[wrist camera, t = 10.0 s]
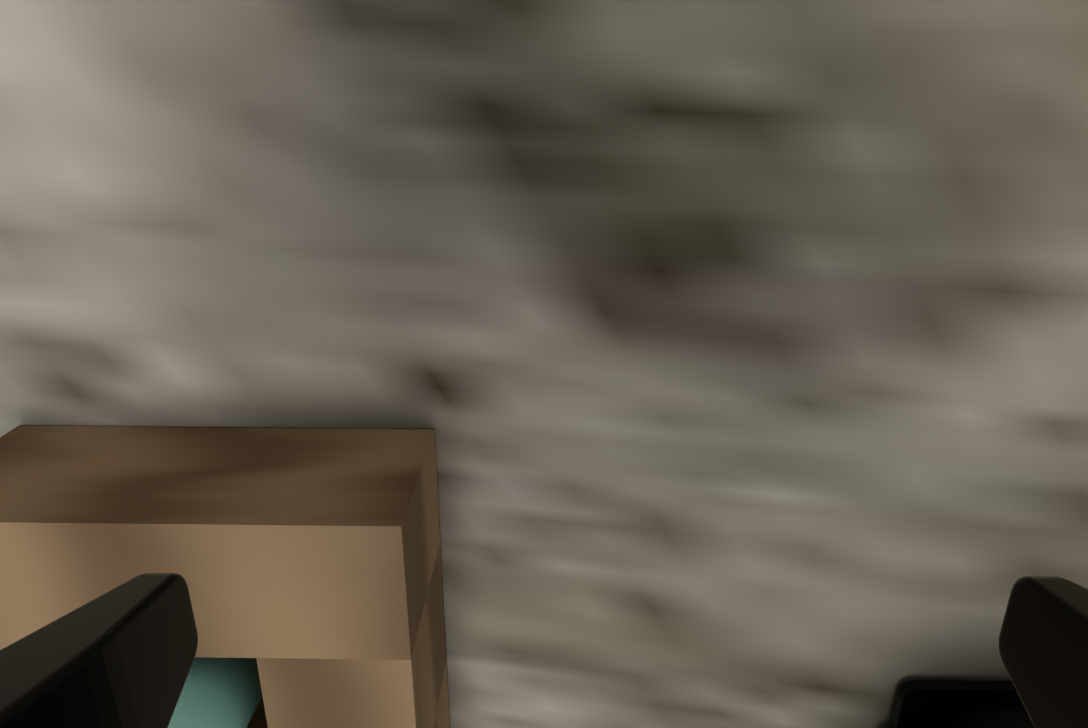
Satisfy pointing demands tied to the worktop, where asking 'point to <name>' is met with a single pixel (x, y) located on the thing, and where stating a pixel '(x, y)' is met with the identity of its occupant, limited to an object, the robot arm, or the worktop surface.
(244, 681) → the peg
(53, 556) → the socket block
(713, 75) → the worktop surface
